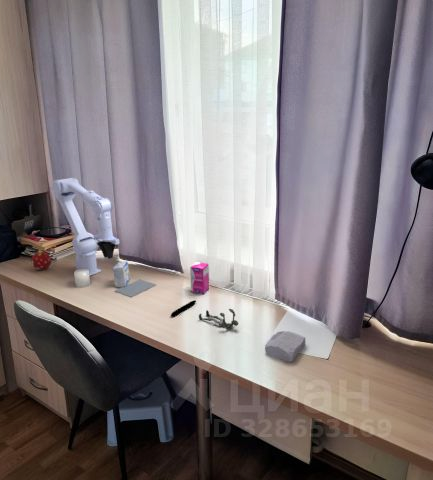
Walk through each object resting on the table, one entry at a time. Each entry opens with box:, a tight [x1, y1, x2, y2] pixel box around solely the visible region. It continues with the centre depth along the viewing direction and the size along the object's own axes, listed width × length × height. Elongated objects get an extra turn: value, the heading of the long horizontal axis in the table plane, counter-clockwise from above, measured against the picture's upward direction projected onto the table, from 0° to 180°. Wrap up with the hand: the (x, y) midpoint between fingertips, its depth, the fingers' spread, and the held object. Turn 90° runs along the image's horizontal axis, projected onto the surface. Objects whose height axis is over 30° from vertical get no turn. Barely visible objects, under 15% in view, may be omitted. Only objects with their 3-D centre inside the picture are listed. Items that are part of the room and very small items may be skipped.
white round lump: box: [73, 269, 91, 288], centre depth 170 cm, size 6×6×6 cm
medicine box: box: [112, 260, 131, 288], centre depth 169 cm, size 8×4×9 cm, turn 179°
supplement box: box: [189, 261, 210, 295], centre depth 160 cm, size 6×6×12 cm
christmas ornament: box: [31, 249, 52, 271], centre depth 186 cm, size 9×9×10 cm
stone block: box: [264, 330, 306, 363], centre depth 121 cm, size 12×5×10 cm
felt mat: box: [114, 279, 157, 298], centre depth 165 cm, size 10×14×1 cm
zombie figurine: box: [198, 308, 239, 330], centre depth 135 cm, size 5×7×15 cm
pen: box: [170, 300, 197, 318], centre depth 146 cm, size 2×14×2 cm, turn 143°
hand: (108, 257), depth 171 cm, fingers closed
